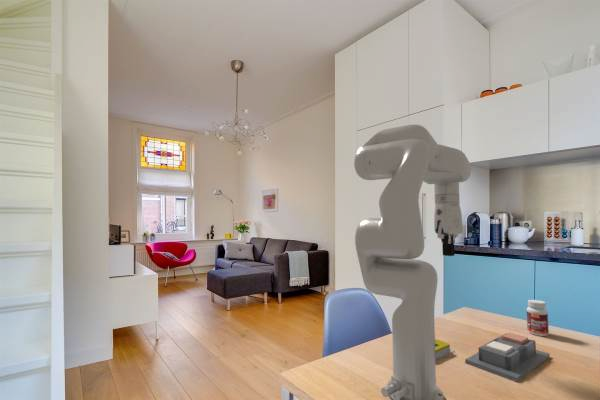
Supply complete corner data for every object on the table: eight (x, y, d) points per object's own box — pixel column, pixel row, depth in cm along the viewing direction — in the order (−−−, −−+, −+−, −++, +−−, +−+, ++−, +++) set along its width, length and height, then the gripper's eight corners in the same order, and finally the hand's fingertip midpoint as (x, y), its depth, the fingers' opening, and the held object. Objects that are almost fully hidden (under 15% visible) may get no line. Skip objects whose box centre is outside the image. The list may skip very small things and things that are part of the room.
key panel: (517, 381, 80) (516, 363, 80) (465, 362, 90) (464, 346, 91) (549, 356, 94) (548, 341, 94) (501, 343, 104) (501, 329, 105)
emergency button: (399, 339, 98) (428, 329, 106) (400, 354, 97) (428, 343, 106) (426, 350, 90) (455, 338, 98) (427, 365, 90) (455, 352, 98)
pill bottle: (530, 335, 111) (529, 302, 112) (524, 329, 117) (523, 298, 117) (551, 337, 109) (550, 304, 110) (545, 331, 115) (543, 300, 115)
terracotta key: (521, 352, 92) (521, 341, 92) (502, 346, 96) (502, 336, 96) (528, 348, 95) (528, 337, 95) (509, 342, 99) (509, 332, 99)
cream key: (505, 363, 85) (505, 351, 86) (486, 356, 90) (485, 345, 90) (513, 358, 88) (513, 346, 89) (494, 352, 92) (493, 341, 93)
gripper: (445, 199, 98) (447, 258, 97) (469, 200, 107) (471, 255, 106) (423, 200, 104) (425, 256, 103) (448, 201, 113) (449, 253, 112)
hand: (448, 255), depth 104 cm, fingers closed
